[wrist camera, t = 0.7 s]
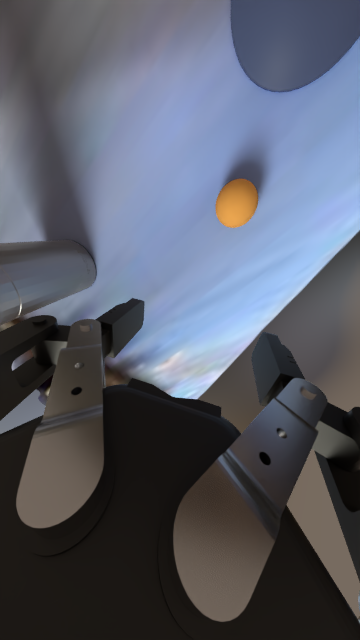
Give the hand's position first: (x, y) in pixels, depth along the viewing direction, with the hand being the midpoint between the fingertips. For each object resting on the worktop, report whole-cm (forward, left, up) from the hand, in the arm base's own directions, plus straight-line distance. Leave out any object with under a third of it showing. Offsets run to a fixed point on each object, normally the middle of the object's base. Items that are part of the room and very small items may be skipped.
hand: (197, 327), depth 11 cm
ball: (+5, +8, -16) cm, 19 cm away
